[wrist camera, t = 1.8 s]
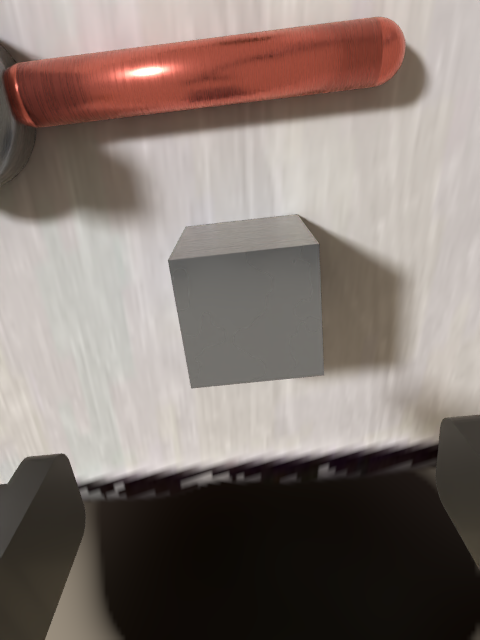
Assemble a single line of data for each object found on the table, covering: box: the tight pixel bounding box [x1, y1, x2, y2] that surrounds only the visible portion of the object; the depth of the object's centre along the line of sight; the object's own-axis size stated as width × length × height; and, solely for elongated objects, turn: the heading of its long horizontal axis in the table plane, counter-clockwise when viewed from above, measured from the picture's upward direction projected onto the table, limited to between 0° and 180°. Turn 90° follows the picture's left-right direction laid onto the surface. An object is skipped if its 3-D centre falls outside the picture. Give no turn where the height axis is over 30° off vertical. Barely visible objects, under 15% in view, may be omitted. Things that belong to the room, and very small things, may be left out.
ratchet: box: [0, 17, 405, 186], centre depth 15 cm, size 23×7×8 cm, turn 96°
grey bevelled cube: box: [168, 214, 324, 388], centre depth 19 cm, size 6×6×6 cm
